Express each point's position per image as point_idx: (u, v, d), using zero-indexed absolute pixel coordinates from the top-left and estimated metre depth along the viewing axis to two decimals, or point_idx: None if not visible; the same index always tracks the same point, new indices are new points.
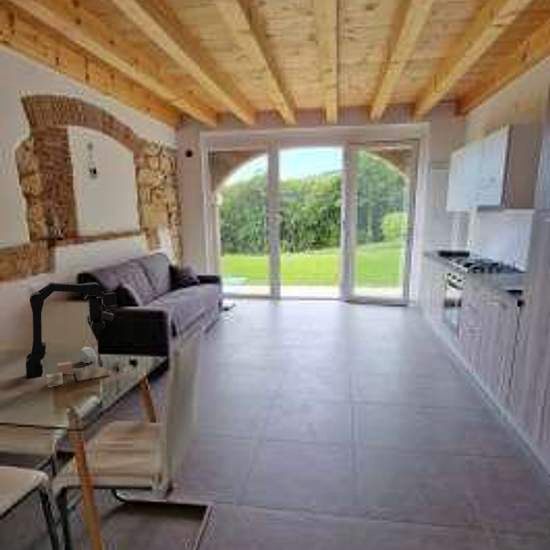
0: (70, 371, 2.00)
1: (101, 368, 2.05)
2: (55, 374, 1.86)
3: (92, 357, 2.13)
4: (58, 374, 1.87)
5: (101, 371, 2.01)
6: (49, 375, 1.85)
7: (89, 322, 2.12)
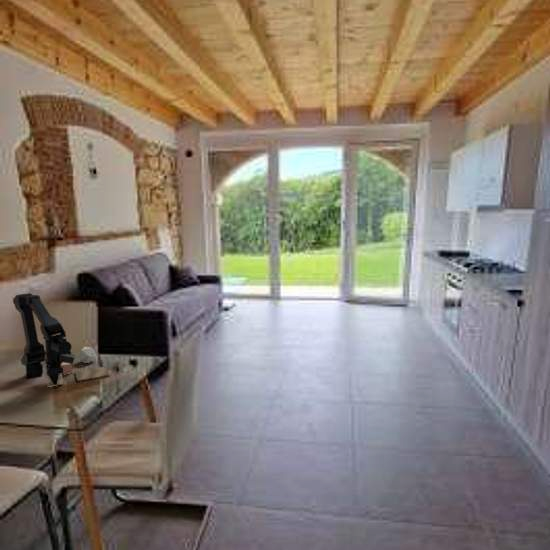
0: (70, 371, 2.00)
1: (101, 368, 2.05)
2: None
3: (92, 357, 2.13)
4: None
5: (101, 371, 2.01)
6: None
7: (47, 367, 1.87)
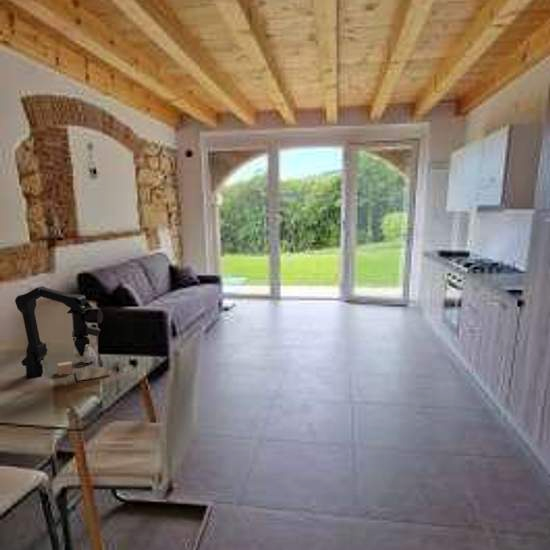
0: (70, 371, 2.00)
1: (101, 368, 2.05)
2: None
3: (92, 357, 2.13)
4: None
5: (101, 371, 2.01)
6: None
7: None
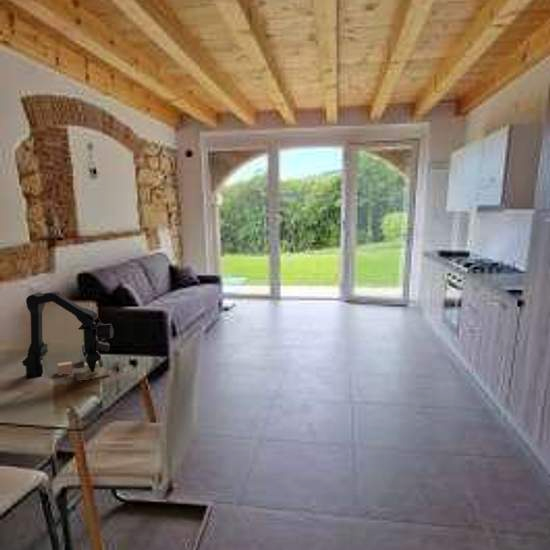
0: (70, 371, 2.00)
1: (101, 368, 2.05)
2: None
3: None
4: None
5: (101, 371, 2.01)
6: (86, 363, 1.97)
7: (84, 353, 2.00)
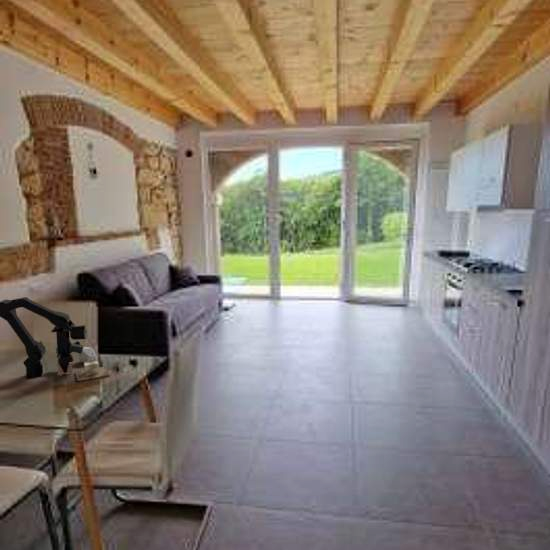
0: (70, 371, 2.00)
1: (101, 368, 2.05)
2: (92, 363, 1.99)
3: (92, 357, 2.13)
4: (95, 363, 1.99)
5: (101, 371, 2.01)
6: (86, 363, 1.97)
7: (58, 356, 2.00)
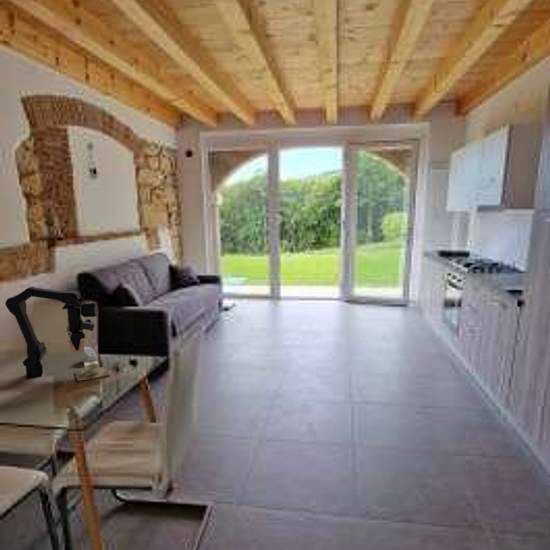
0: (82, 348, 1.98)
1: (101, 368, 2.05)
2: (92, 363, 1.99)
3: (92, 357, 2.13)
4: (95, 363, 1.99)
5: (101, 371, 2.01)
6: (86, 363, 1.97)
7: (69, 334, 1.98)
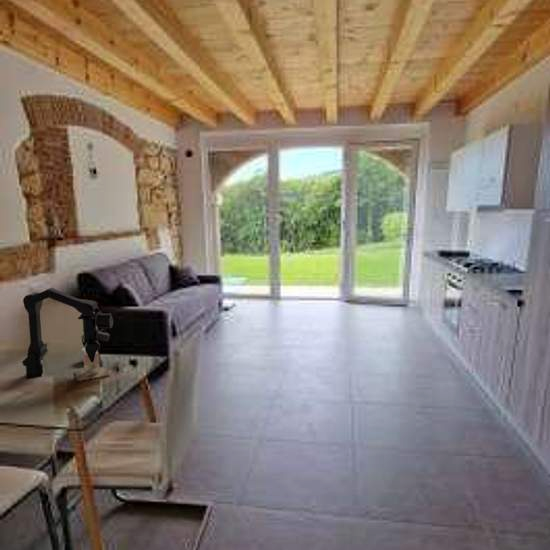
0: (96, 361, 1.98)
1: (101, 368, 2.05)
2: None
3: None
4: None
5: (101, 371, 2.01)
6: None
7: (83, 343, 2.00)
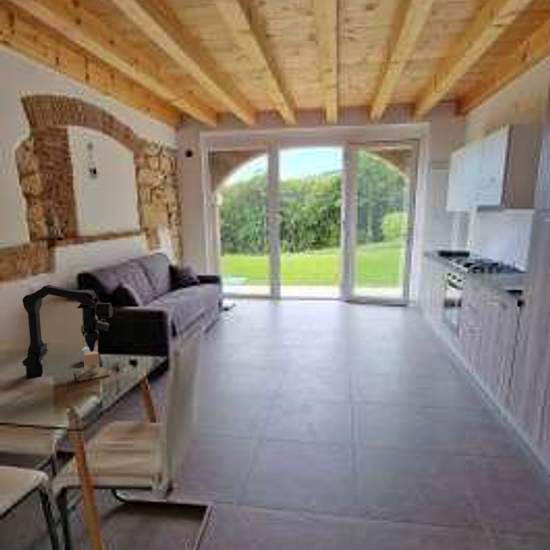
0: (96, 361, 1.98)
1: (101, 368, 2.05)
2: None
3: None
4: None
5: (101, 371, 2.01)
6: None
7: (83, 332, 2.00)
